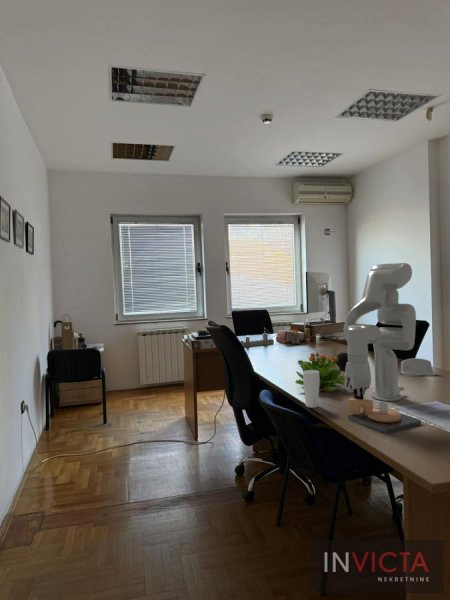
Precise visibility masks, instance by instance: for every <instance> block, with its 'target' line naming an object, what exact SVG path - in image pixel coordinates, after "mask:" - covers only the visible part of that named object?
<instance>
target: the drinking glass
mask: <svg viewBox="0 0 450 600" xmlns="http://www.w3.org/2000/svg"><path fill="white" fill-rule="evenodd" d="M302 373H303V374H302V375H303V379H302V381H304V385H303V389H304V397H305V398H304V399H305V407H307V408H311V409H315V408H318V407H319V399H320V398H319V396H320V395H319V394H320V391H319V383H320V376H319V371H317V370H305V371H303V370H302Z"/></svg>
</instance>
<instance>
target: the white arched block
mask: <svg viewBox="0 0 450 600" xmlns="http://www.w3.org/2000/svg"><path fill="white" fill-rule="evenodd" d="M400 375H402V377H418V376H417V375H434V376H435V372H434V370H433V366H432V361H430V360H429V359H425V358H418V357H417V358H414V357H413V358H407V359H404V360H402V361H401V362H400ZM413 375H414V376H413ZM415 375H416V376H415Z"/></svg>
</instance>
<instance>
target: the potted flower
mask: <svg viewBox="0 0 450 600" xmlns="http://www.w3.org/2000/svg"><path fill="white" fill-rule="evenodd" d="M337 361H338V358H337V356H335V355H334V356H332V357H329V356H328V357H327V356H326V355H324V354H322V355H320V353H319V352H316V353H315V352H311V353H310V357H308V361H306V360H305V361H303V359H301V360H299V359H298V360H297V364H298V365H299V366H300V368H301V370H302V372H303V371H305V370H317V371H319V376H320V383H319V392H327V393H331V392H333V391H335V390H338V389H340V386H338V384H339V385H342V386H345V375H341V374H342V369H337V367H335V366H336V365H337V364H336V362H337ZM295 373H296V374H297V375H298V377H299V379H296V380H295V381H294V383H295V384H297V385H300V386H304V381H303V374H302V373H300V372H299V371H295ZM340 375H341V376H340ZM300 378H301V379H300Z"/></svg>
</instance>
